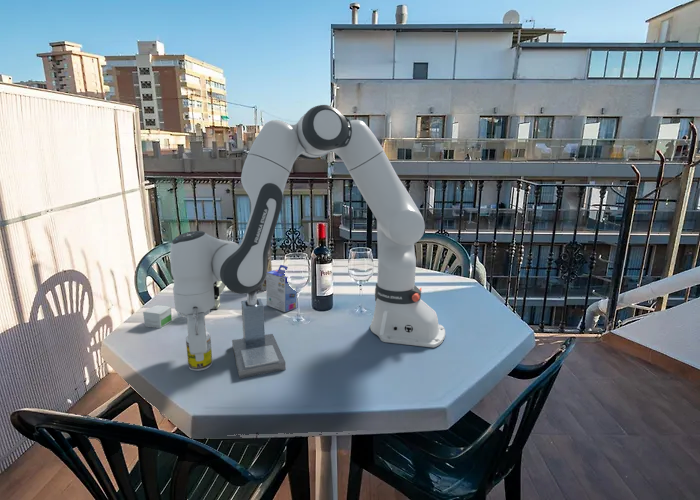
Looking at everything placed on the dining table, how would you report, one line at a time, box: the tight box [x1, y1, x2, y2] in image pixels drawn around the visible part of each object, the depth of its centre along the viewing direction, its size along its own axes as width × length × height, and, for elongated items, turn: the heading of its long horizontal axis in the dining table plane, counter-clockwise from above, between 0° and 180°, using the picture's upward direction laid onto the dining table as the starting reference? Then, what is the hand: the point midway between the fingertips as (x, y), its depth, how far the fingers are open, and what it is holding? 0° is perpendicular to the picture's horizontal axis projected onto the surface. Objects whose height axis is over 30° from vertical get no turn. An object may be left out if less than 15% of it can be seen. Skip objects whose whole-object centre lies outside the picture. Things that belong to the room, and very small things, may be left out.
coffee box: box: [260, 244, 273, 291], centre depth 148 cm, size 9×6×16 cm
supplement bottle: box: [185, 325, 213, 372], centre depth 93 cm, size 6×6×10 cm
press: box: [231, 298, 287, 380], centre depth 96 cm, size 16×11×13 cm
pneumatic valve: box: [212, 281, 226, 310], centre depth 127 cm, size 6×12×12 cm, turn 5°
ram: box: [246, 284, 262, 306], centre depth 100 cm, size 5×5×12 cm
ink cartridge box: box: [265, 264, 297, 313], centre depth 129 cm, size 10×6×14 cm, turn 53°
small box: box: [142, 304, 173, 329], centre depth 116 cm, size 6×6×5 cm
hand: (199, 352), depth 93 cm, fingers closed on supplement bottle, 6 cm apart
